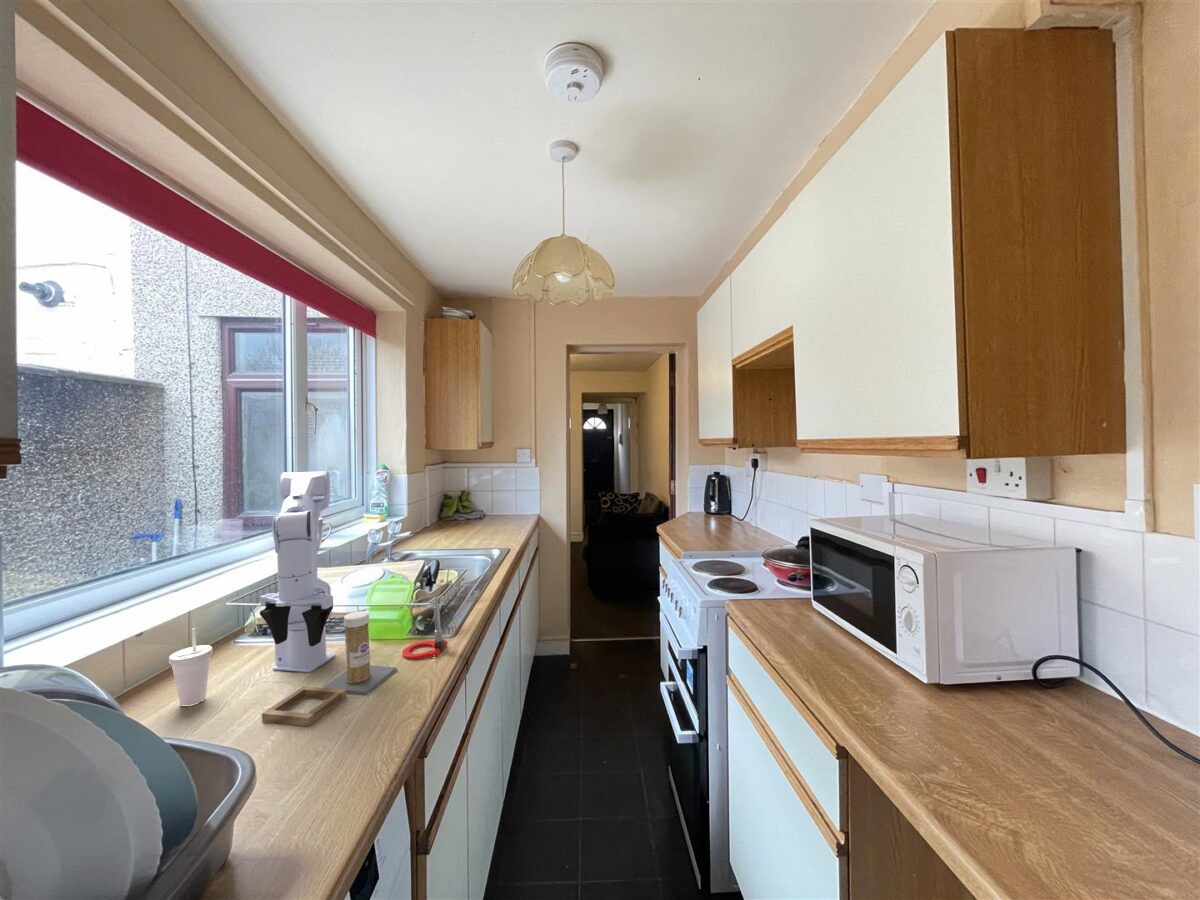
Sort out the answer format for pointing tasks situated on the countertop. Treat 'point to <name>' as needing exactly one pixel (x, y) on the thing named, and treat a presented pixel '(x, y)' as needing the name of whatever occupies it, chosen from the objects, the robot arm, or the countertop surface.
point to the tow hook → (437, 644)
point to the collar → (304, 719)
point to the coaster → (366, 686)
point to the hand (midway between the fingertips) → (298, 643)
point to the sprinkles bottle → (357, 647)
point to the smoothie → (191, 671)
